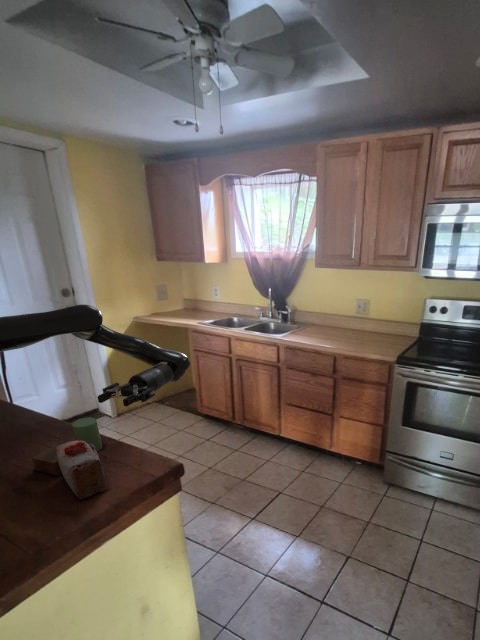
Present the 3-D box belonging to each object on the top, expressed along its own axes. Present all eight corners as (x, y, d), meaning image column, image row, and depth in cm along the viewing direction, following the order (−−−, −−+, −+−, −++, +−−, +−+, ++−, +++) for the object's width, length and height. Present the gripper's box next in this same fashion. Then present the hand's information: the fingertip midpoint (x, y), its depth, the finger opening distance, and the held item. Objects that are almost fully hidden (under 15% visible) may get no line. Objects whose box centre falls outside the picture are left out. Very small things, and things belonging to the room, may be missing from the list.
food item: (58, 475, 88) (48, 439, 84) (95, 463, 93) (86, 428, 89) (75, 503, 79) (64, 463, 75) (114, 487, 84) (106, 449, 80)
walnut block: (35, 470, 90) (31, 457, 88) (61, 455, 96) (57, 443, 94) (58, 475, 88) (54, 463, 86) (82, 460, 94) (79, 448, 92)
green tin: (79, 456, 95) (71, 429, 92) (78, 446, 100) (71, 420, 97) (103, 450, 98) (96, 424, 95) (101, 441, 102) (95, 415, 99)
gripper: (126, 369, 119) (87, 386, 104) (165, 373, 115) (130, 392, 101) (130, 390, 122) (93, 410, 107) (168, 395, 118) (135, 416, 104)
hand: (111, 401), depth 104 cm, fingers open, 8 cm apart
